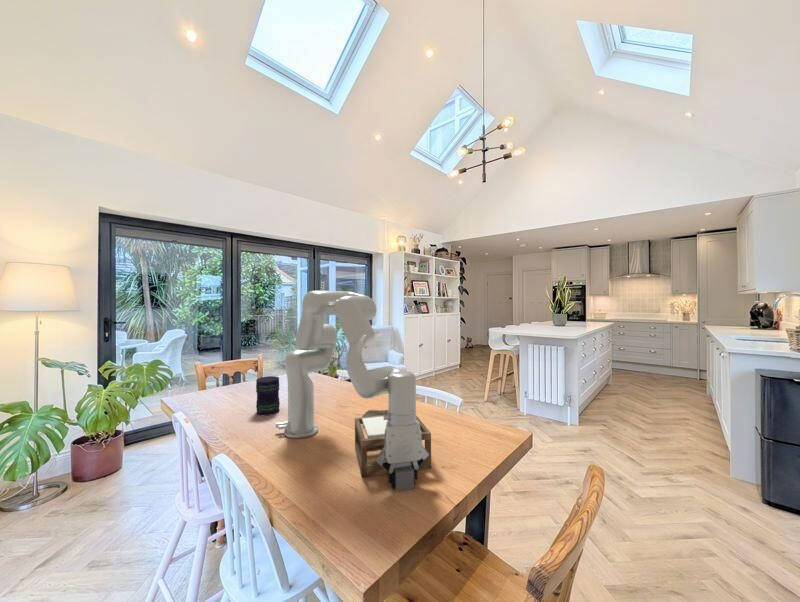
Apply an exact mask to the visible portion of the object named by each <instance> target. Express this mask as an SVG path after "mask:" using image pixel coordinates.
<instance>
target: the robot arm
mask: <svg viewBox="0 0 800 602" xmlns="http://www.w3.org/2000/svg"><path fill="white" fill-rule="evenodd" d="M301 303H302V304H301V316H300V319H299V324H298V327H297V330H296V331H297V332H296V335H295V340H294V343H295V347H296V348H297V349H295V350H292V351H290V352H289V353H287V355H286V356H285V357H284V367H285V371H286V377H287V402H288V403H287V407H288V409H287V411H288V413H287V415H288V417H287V418H288V419H287V420H285V421H284V422H283V421H281V422H275V428H276V429H278V430H283V434H284V436H285V437H287V438H290V439H301V438H302V439H303V438H308V437H310V436H313V435H315V434H317V432H318V431H319V426H318V424H316V423H315V389H314V388H315V385H314V382H313V380H312V379H311V378H310V376H309V374H311V373H317V372H321V371H324V370H326V369H327V368H328V367H329V366H330V364H331V361H332V359H333V355H334V353H335V349H336V346H337V343H338V342H337V341H338V332H337V330H336V328H335V327H334V326H333V325H332V324H329V323H325V321H326V316H336V318H337V320H338V322H339V325H340V327H341V329H342V331H343V333H344V336H345V337H346V340H347V342H348V344H349V347H348V349H347V350H348V351H347V354H346V372H347V375H348V377H349V379H350V382H351V384H352V386H353V388H354V390H355V391H356V393H357V394H358V395H359V396H360V397H361V398H363V399H367V400H368V399H373V398H376V397H380V396H383V395H386V394H388V410H389V411H388V413H387V414H386V415H383V418H384V420H388V421H387V423H386V428H385V435H384V447H382V449H381V451H380V452H379V454H377V456H376V458H375V460H376V463H379V464H380V465H382V466H383V467H384V468H385V469H386V470H387V471H388V474H387V475H388V479H387V481H388V483H389V484H390V485H391V488H392V489H395V472H394V467H395V464H399V463H406V462H411V463H412V464H411V466H412V467H413V469H414V486H415V485H416V482H417V481H416V480H418V468H419V466H420V464H421V463H422V462H423V460H424V459H425V458H426V457H428V455H429V453H428V452H427V451H426V450H425V446H424V445H423V440H422V438H421V433H422V432H421V430H420V424H419V422H418V421H417V420H416V416H417V382H416V381H417V379H416V375H415V373H414V372H411V371H407V370H401V369H399V368H398V367H394V366H391V365H387V366H383V367H377V368H372V369H367V366H366V364H365V362H364V360H363V354H362V352H363V349H364V348H365V347H367V346H368V345H369V344H370V343H372V341H373V340H374V339H375V336H376V333H375V330H374V328H373V326H372V324H371V323H370V321H371V320H373V319H374V318H375V317H376V314H377V305H376V302H375V301H374V300H373V298H371V297H370V296H368V295H365V294H359V293H356V292H353V291H343V290H342V291H341V290H310V291H308V292H307V293H306V294H305V295H304V296H303V299H302V302H301Z"/></svg>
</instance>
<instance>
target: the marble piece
mask: <svg viewBox="0 0 800 602" xmlns="http://www.w3.org/2000/svg"><path fill="white" fill-rule="evenodd" d="M388 411H389V409H382V410H378V409H377V410H375V409H369V410H367V411H366V412H364V414H363V415H362V416H361V417H369V416H379V415H386V414H387V413H388Z"/></svg>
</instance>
